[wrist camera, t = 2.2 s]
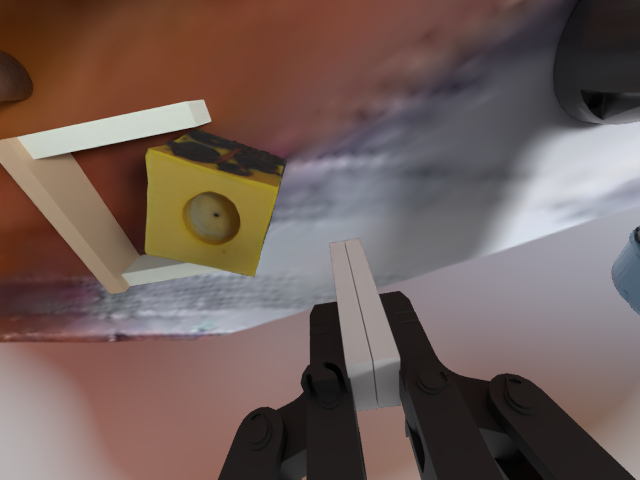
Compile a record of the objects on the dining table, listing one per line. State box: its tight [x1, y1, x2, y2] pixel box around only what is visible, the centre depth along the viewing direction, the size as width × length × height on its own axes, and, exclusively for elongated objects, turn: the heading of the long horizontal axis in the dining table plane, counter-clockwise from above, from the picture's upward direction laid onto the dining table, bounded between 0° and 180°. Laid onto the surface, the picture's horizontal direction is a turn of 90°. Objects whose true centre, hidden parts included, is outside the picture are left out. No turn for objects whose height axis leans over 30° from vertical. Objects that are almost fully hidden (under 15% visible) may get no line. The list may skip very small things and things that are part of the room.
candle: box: [145, 129, 286, 277], centre depth 25 cm, size 10×10×10 cm
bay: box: [0, 100, 224, 294], centre depth 28 cm, size 18×18×5 cm
